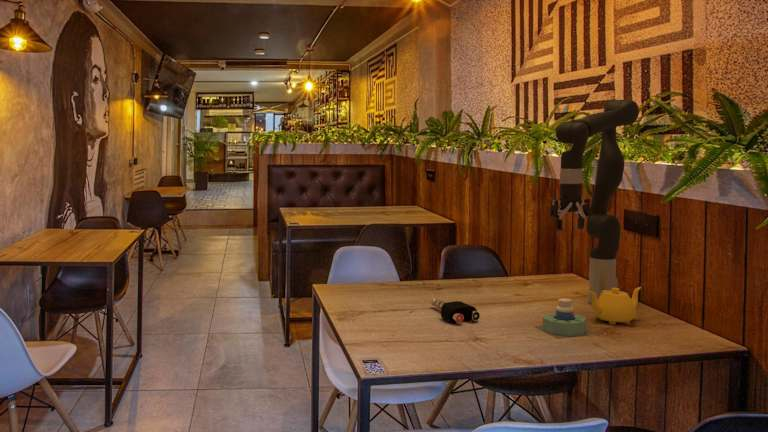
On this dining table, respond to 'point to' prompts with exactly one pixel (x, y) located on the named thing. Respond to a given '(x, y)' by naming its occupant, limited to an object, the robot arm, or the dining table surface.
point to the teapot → (615, 305)
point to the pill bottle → (565, 310)
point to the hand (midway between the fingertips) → (569, 229)
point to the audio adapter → (456, 311)
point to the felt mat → (564, 336)
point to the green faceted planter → (564, 325)
